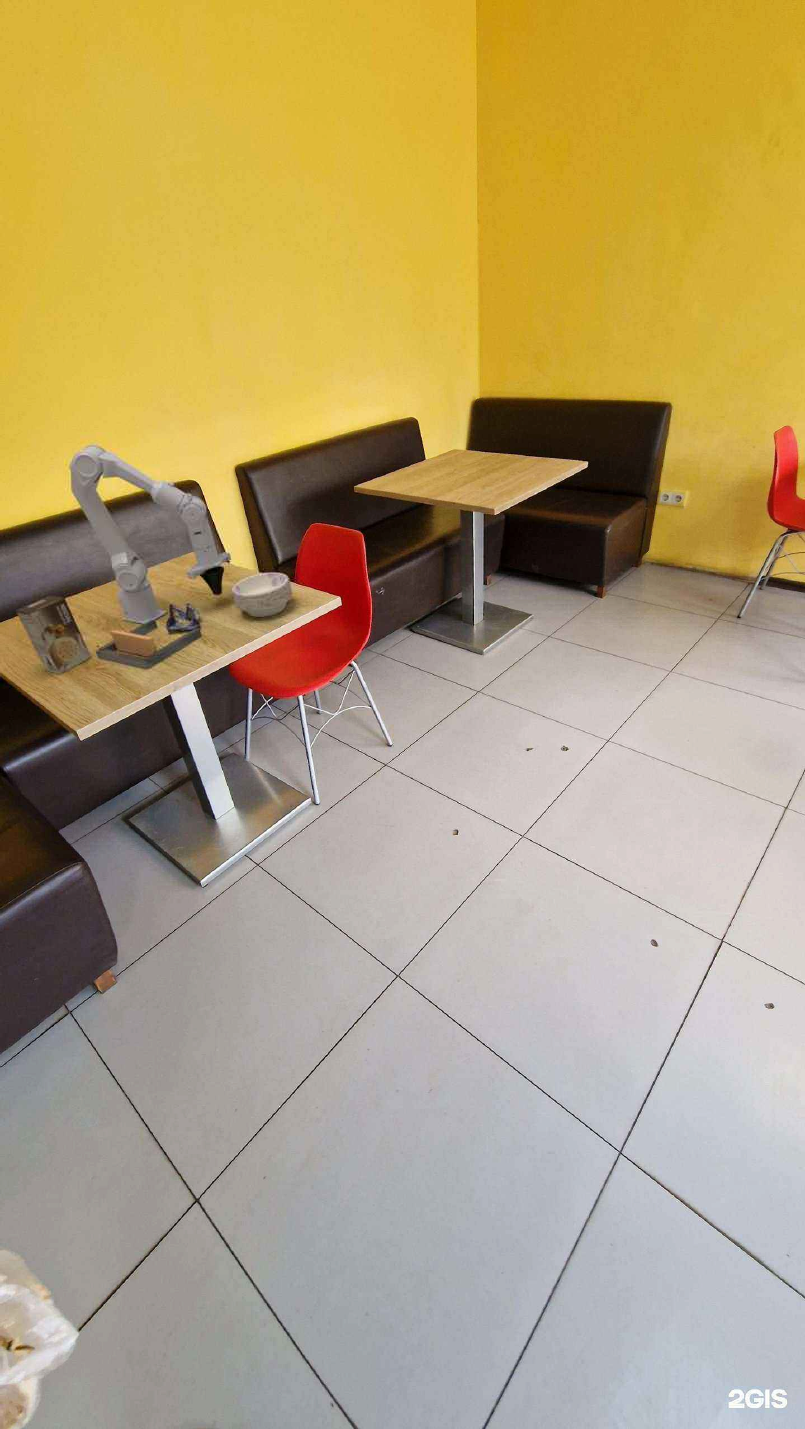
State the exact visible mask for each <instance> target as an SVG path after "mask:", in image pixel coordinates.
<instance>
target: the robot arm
mask: <svg viewBox="0 0 805 1429" xmlns="http://www.w3.org/2000/svg"><path fill="white" fill-rule="evenodd" d="M68 467H69V471H70V488H71V489H70V490H71V493H72V494H73V496H74V497H75V500H76V502H77V503H78V505H79V506H80V509H82V512H83V514H84V516H86V518H87V520H88V521H89V524H90V525H91V527H92V529H93V530H94V532H95V533H96V535H97V536H98V539H99V540H100V542H101V544H102V545H103V547H104V548H105V550H106V552H107V553H108V555H109V556H110V560H111V566H112V570H113V571H114V574H115V581H116V583H117V585H118V587H119V589H118V591H117V598H118V602H119V603H120V607H121V609H122V612H123V615H124V617H123V618H122V620H123V621H125V622H132V623H136V624H141V625H143V624H145V623H146V622H148V621H150V620H155V621H156V619H159V618H160V617H162V616H164V615H166V614H167V613H168V610H164V609H160V608H159V604H158V601H157V599H156V596H155V593H154V590H153V586H152V584H151V582H150V580H149V579H148V578H147V576H148V573H149V572H148V570H149V569H148V566H147V564H146V563H145V561H144V560H142V559H141V558H139V556H138V555H137V552H135V550H133V549H131V548H130V547H129V544H127V542H126V540H125V538H124V537H123V535H122V533H121V531H120V529H119V527H118V526H117V524H116V523H115V521H114V519H113V518H112V515H111V514H110V512H109V510H108V508H107V507H106V505H105V503H104V501H103V499H102V497H101V496H100V495H99V492H98V491H97V488H98V485H99V483H100V479H101V477H102V478H103V479H107V478H108V479H109V478H119V479H120V480H121V479H122V481H125V482H127V483H129V484H131V485H133V486H134V487H136V488H138V489H140V490H143V491H145V492H147V493H149V495H150V496H151V498H152V500H153V502H154V503H155V504H156V503H157V504H158V505H159V506H161V507H163V508H165V509H166V510H168V511H171V513H173V514H176V515H178V516H180V518H181V520H182V522H183V523H185V524H186V527H187V528H186V529H187V532H188V535H189V536H188V537H189V538H190V543H191V546H192V549H193V552H194V557H195V559H196V564H195V565H193V567H191V568H190V569H188V570H186V575H187V578H188V579H191V580H194V579H197V577H200V578H201V579H203V581H204V582H205V583H206V585H207V586H208V587H209V589H210V590H211V592H212V594H213V595H215V596H220V595H221V594H223V578H224V577H223V575H224V572H225V568H224V566H222V565H223V563H225V562H228V561H231V560H232V556H231V554H230V552H221V553H219V554H218V550H217V546H216V543H215V540H214V537H213V533H212V529H211V526H210V524H209V520H208V517H207V516H206V515H207V505H206V503H205V502H204V501H203V500H202V499H201V498H200V497H199V496H196V495H195V496H194V495H192V494H191V493H189V492H188V493H186V492H184V491H182V490H181V489H179V488H177V487H175V486H174V485H175V484H174V482H172V481H170V480H169V481H168V482H167V481H166V480H160V481H156V480H154V479H152V477H150V476H148V475H147V474H145V473H143V472H142V471H140V470H139V469H137V468H136V467H134V466H133V465H131V464H130V463H128V462H127V461H125V460H123V459H122V458H120V457H119V456H118V455H116V454H114V452H112V451H109V450H105V448H103V447H102V446H100V445H97V444H90V445H87V446H85V447H84V448H83V449H82V450H81V451H78V452H76V453H75V454H74V455H73V457H72V459H71V462H70V464H69V465H68Z"/></svg>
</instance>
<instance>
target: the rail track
mask: <svg viewBox="0 0 805 1429" xmlns="http://www.w3.org/2000/svg"><path fill="white" fill-rule="evenodd" d="M156 629H158V624H157V621H156V619H155V620H150V621H148V622H146V623H145V624H141V625H140V626H137V627H136V628H133V629H132V630H130V631H128V633H133V634H138V635H143V636H146V635H147V634H148V633H150V632H152V631H153V630H156ZM202 634H203V633H202V631H201V629H198V628H195V629H193V630H192V631H187V633H185V634H183V635H182V636H180V637H178V638H177V639H175V640H173V641H171V642H170V643H168V644H167V645H165V646H163V647H161V648H160V649H157V651H156V652H155V653H153V654H151V655H150V656H148V657H147V656H145V658H144V657H140V656H136V655H133V654H129V653H128V654H127V653H123V652H119V651H118V650H117V648H116V645H115V643H114V640H112V641H110V642H108V643H106V644H104V645H103V646H101V647H98V649H97V650H95V653H96V656H97V658H98V659H103V660H107V661H111V662H114V663H115V662H116V663H119V664H122V665H123V664H124V665H128V666H130V667H131V666H132V667H136V668H139V669H144V670H149V669H151V668H153V667H154V666H155V665H157V664H159V663H161V662H162V661H164V660H166V659H167V658H169V657H170V656H172V655H173V654H175V653H177V652H178V651H180V650H181V649H183V648H185V647H186V646H188V645H190V644H192V643H193V642H194V641H196V640H198V639H200V638H202V636H203V635H202Z"/></svg>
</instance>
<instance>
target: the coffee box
mask: <svg viewBox="0 0 805 1429" xmlns="http://www.w3.org/2000/svg"><path fill="white" fill-rule="evenodd" d="M15 612H16V614H17V616H18V618H19V620H20V621H21V624H22V626H23V628H24V631H25V632H26V634H27V635H28V636H27V637H28V638H29V640H30V642H31V644H32V646H33V648H34V650H35V652H36V654H37V656H38V658H39V660H40V663H41V664H42V666H43V668H44V670H45V671H48V672H51V673H54V674H57V675H61V674H63V673H66V672H67V671H68V670H70V669H73V668H74V667H76V666H78V665H80V664H81V663H83V662H85V661H87V660H89V659H92V656H91V653H90V651H89V649H88V647H87V644H86V642H85V640H84V638H83V636H82V634H81V632H80V629H79V627H78V624H77V623H76V620H75V617H74V616H73V614H72V611H71V609H70V607H69V605H68V602H67V600H66V598H64V597H61V596H55V595H48V596H46V597H44V598H41V599H39V600H35V601H34V602H32V603H29V604H27V605H24V606H23V607H20V608H18V609H16V610H15Z"/></svg>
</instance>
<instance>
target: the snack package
mask: <svg viewBox="0 0 805 1429" xmlns="http://www.w3.org/2000/svg"><path fill="white" fill-rule="evenodd" d="M185 606H186V608H185V609H186V610H183V609H182V608H179V607H177V606H176V605H174V604H172V603H170V604H169V606H168V609H169V610H168V611H169V616H168V619H167V621H166V625H165V628H166V630H167V631H168V632H173V631H177V630H178V631H179V630H181V631H183V633H184V632H190V631H192V630H193V629H195V628H198V629H200V630H201V629H202V625H201V623H200V620H199V619H200V612H199V610H198V608H197V606H195V605H193V604H191V603H186V605H185ZM186 622H189V624H188V625H186V626H185V625H184V624H185V623H186Z"/></svg>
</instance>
